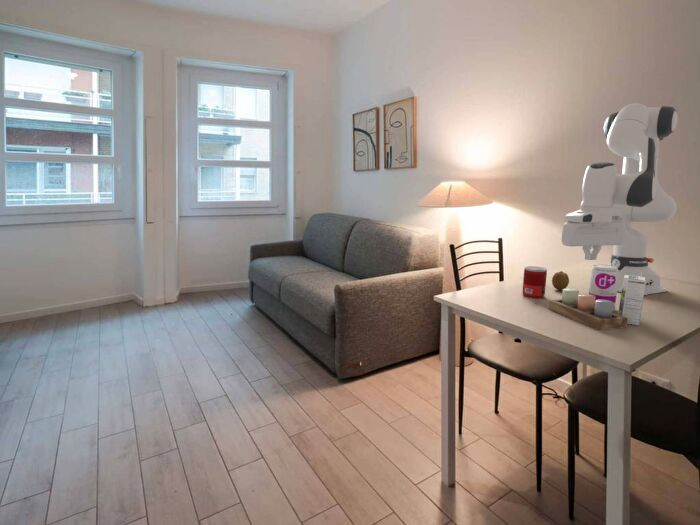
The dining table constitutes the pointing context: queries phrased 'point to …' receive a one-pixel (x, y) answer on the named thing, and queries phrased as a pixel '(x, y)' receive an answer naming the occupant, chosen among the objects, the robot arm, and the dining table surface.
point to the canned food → (534, 281)
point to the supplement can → (604, 282)
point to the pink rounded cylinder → (586, 302)
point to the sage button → (570, 296)
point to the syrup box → (632, 298)
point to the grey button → (603, 308)
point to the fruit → (560, 280)
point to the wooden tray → (587, 316)
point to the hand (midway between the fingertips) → (590, 259)
